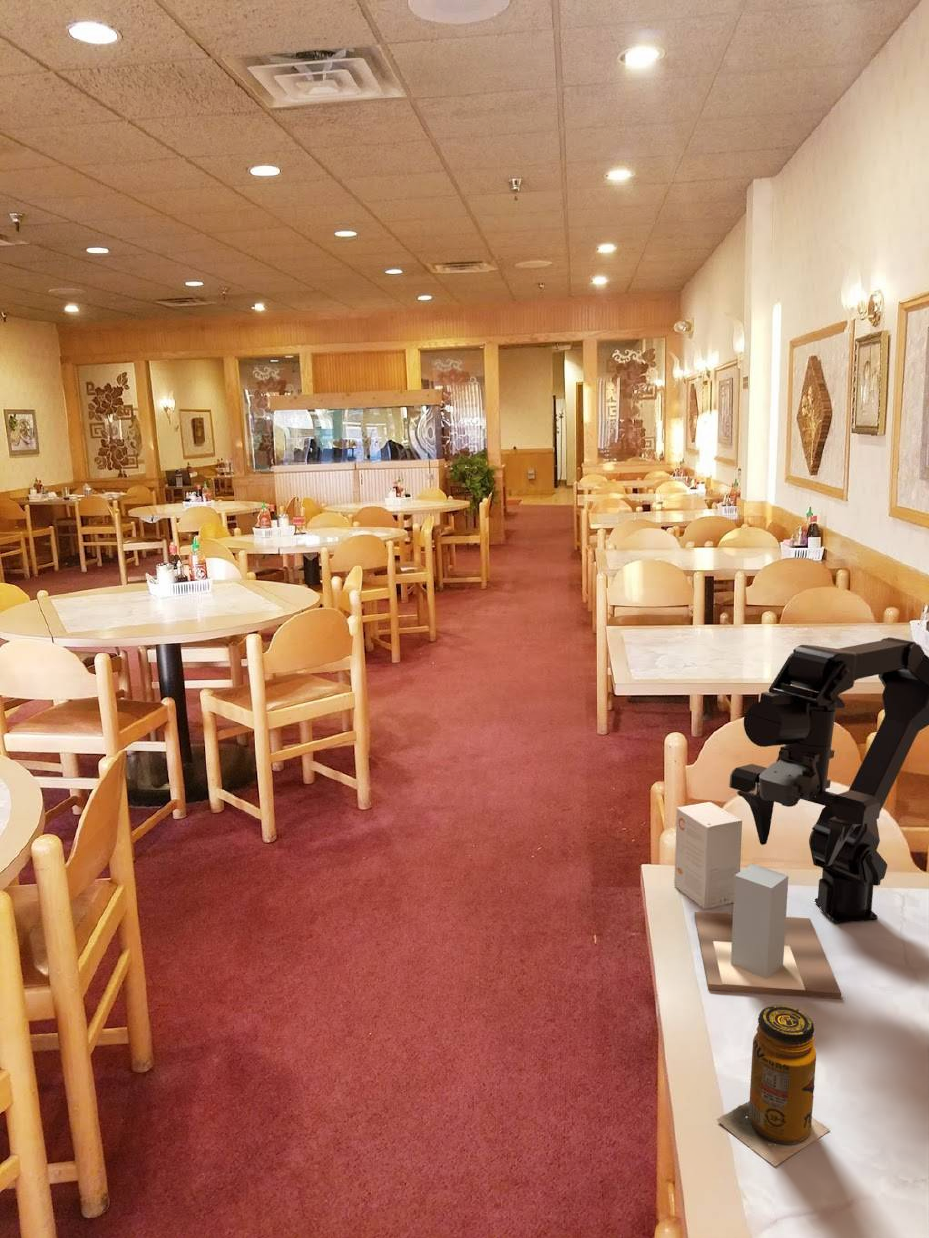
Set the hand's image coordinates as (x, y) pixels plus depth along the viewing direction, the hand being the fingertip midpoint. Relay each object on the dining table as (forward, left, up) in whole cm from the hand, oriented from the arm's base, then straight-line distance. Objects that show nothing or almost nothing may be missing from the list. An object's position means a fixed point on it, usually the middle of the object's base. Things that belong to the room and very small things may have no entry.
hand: (794, 854), depth 125 cm
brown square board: (+5, +3, -13) cm, 14 cm away
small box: (+6, -15, -13) cm, 21 cm away
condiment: (+17, +32, -13) cm, 39 cm away
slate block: (+7, +6, -12) cm, 15 cm away
